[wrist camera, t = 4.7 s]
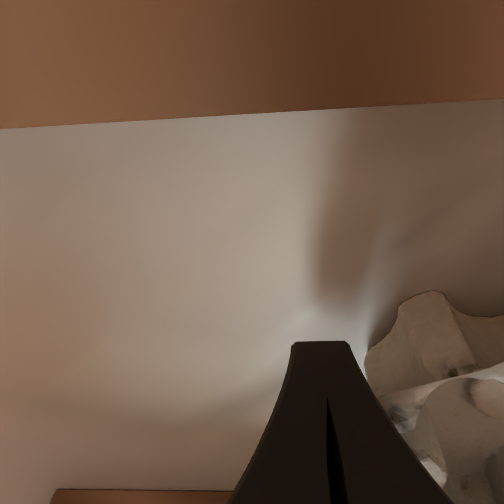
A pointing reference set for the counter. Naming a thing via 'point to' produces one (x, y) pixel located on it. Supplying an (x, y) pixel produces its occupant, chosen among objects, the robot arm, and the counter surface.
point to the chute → (236, 74)
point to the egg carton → (446, 394)
